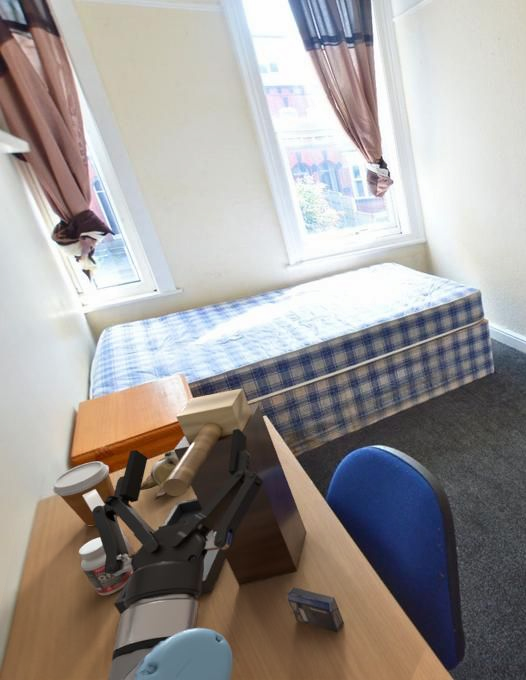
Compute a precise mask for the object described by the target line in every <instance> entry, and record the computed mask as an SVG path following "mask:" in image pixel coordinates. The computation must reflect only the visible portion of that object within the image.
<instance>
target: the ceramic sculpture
mask: <svg viewBox="0 0 526 680" xmlns="http://www.w3.org/2000/svg"><path fill="white" fill-rule="evenodd" d="M178 462H179V460H178V457H177V455H176V453H175V451H174V450H170V451H167V452H165V453H164V457H163V458H160V459H159V460H158V461H157V462H155V463H154V464H153V465H152V467H151V469H150V475H148V476H147V477H146V479H145V480H144V481H142V485H141V489H140V491H145V490H146V491H147V490H150V489H153V488H155V487H158V488H157V492H156V495H155V497H154V500H159V499H162V498H164V497H166V496H168V495H169V494H167V493H166V492H165V491H164V489H163V485H164V483H165V481H166V480H167V478H168V477H169V476H170V474H171V473H172V471H173V470H174V468H175V467H176V465H177V464H178Z"/></svg>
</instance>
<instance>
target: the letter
mask: <svg viewBox="0 0 526 680" xmlns="http://www.w3.org/2000/svg"><path fill="white" fill-rule="evenodd" d="M82 496H83V497H84V499H85V501H86V502H87V504H88V506H89V507H90V509H91V511H93V509H94V508H95V507H97V506H104V505H105V504H104V502H103V501H102V499H101V497H100V496H99V494H98V493H97V491H96V490H95V489H94V490H92V491H90V492H88V493H86V494H84V495H82ZM120 530H121V533H122V535H123V538H124V541H125V544H126V547H127V550H128V553H129V555H130V556H132V557H133V556H134V555H135V554H136V552H135V551H134V549H133V547H132V546H131V543H130V542H129V540H128V538H127V537H126V535H125V533H124V531H123V530H122V529H121V528H120Z"/></svg>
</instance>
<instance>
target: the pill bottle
mask: <svg viewBox="0 0 526 680" xmlns="http://www.w3.org/2000/svg"><path fill="white" fill-rule="evenodd" d="M78 555H79V556H80V558H81V559H82V560H81V563H80V567H81V569H82V571H83V572H84V575H85V576H86V577H87V579H88V580H89V582H90V583H91V585H92V586H93V588H94V590H95V591H96V592H97V594H98V595H100V596H109V595H111V594H115V593H116V592H118V591H120V590H123V588H124V586H125V585H126V583H127V582H128V580H129V577H130V575H131V574H132V573H133V570H130V571H128V572H127V574H126V575H125V576H123V577H117V576H114V575H110V574H107V573H105V572H104V568H105V561H106V554H105V551H104V548H103V545H102V542H101V539H100V537H96V538H93V539H91V540H89V541H88V542H86V543H84V544H83V545H82V546H81V547H80V548H79V550H78Z"/></svg>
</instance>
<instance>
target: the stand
mask: <svg viewBox="0 0 526 680" xmlns="http://www.w3.org/2000/svg"><path fill="white" fill-rule="evenodd" d="M249 407H250V409H251V412H252V414H251V416H250V418H249V420H248V422H247V424H246V426H245V427H244V429H243V431H242V433H243V434H244V435H245V436H246V437H247V438H246V449H245V450H246V451H247V452H248V453H249V454H250V456H251V460H250V472H256V473H257V474H258V475H259V476H260V477H261V478H262V479H263V484H262V486H261V487H260V489H259V491H258V493H257V495H256V496H255V498H254V500H253V502H252V504H251V505H250V507H249V509H248V511H247V513H246V514H245V516H244V518H243V520H242V522H241V524H240V525H239V527H238V529H237V531H236V533H235V537H234V542H233V546H232V548H231V549H230V550H229V551H224V550H222V551H223V553H224V555H225V557H226V559H225V560H226V561H227V563H228V565H229V568H230V570H231V572H232V574H233V576H234V578H235V580H236V582H237V584H238V586H239V587H240V586H245V585H248V584H252V583H257V582H261V581H264V580H267V579H272V578H275V577H280V576H283V575H287V574H291V573H294V572H298V568H299V564H300V560H301V556H302V551H303V547H304V543H305V539H306V534H307V530H306V527H305V524H304V521H303V518H302V517H301V513H300V510H299V508H298V506H297V503H296V501H295V498H294V494H293V493H292V490H291V489H292V488H291V487H290V484H289V481H288V479H287V476H286V474H285V471H284V469H283V466H282V463H281V460H280V458H279V455H278V452H277V450H276V447H275V445H274V442H273V439H272V437H271V434H270V432H269V428H268V426H267V423H266V420H265V419H264V415H263V413H262V409H261V408H260V405H259V404H256V405H251V406H249ZM232 436H233V434H230V435H225V436H221V437H219V439H218V440H217V442H216V444H215V445H214V447H213V449H212V450H211V452H210V454H209V455H208V457H207V459H206V460H205V462H204V464H203V465H202V467H201V468H200V470H199V472H198V473H197V475H196V477H195V478H194V480H193V482H192V483H191V485H190V487H191V490H193V493H194V495H195V498H197V499H198V501H199V503H200V505H201V507H202V509H203V508H204V507H205V506H206V505H207V504H208V503H209V502H210V500H211V499H212V498H213V497H214V496H215V495H216V494H217V493H218V491H219V490H220V489H221V488H222V487H223V486H224V485H225V483H226V482H227V481H228V480H229V479H230V478H231V477H232V476H233V475H232V474H231V473H229V472H228V470H229V462H230V453H231V444H232ZM191 444H192V443H188V441H187V439H186V437H185V435H184V436H183V437H182V438H181V439H180V440H179V442H178V444H176V446H175V448H174V449H173V451H175V453H176V455H177V457H178V460H179V461H180V460H181V458H182V457H183V455H184V454H185V452H186V451H187V449H188V448H189V447H190V445H191ZM228 508H229V507H228ZM228 508H227V509H226V511H225V512H224V513H223V514H222V515H221V516H220V518H219V519H218V520H217V521H216V522H215V526H214V528H213V529H212V530H213V532H217V529H218V526H219V524H220V522H221V520H222V519H223V517H224V515H225V513H226V512H227V510H228Z"/></svg>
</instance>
